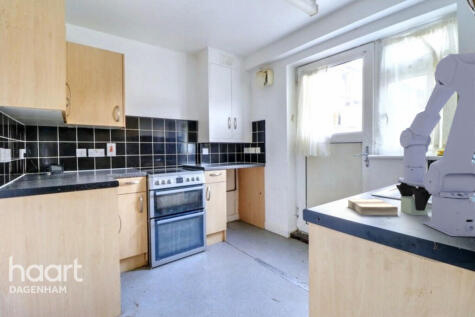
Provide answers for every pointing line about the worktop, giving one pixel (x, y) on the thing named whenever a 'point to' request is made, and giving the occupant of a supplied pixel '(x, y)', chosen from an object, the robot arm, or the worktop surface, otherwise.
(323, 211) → the worktop surface
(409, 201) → the sage cube
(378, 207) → the birch block
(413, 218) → the worktop surface
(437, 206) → the robot arm
